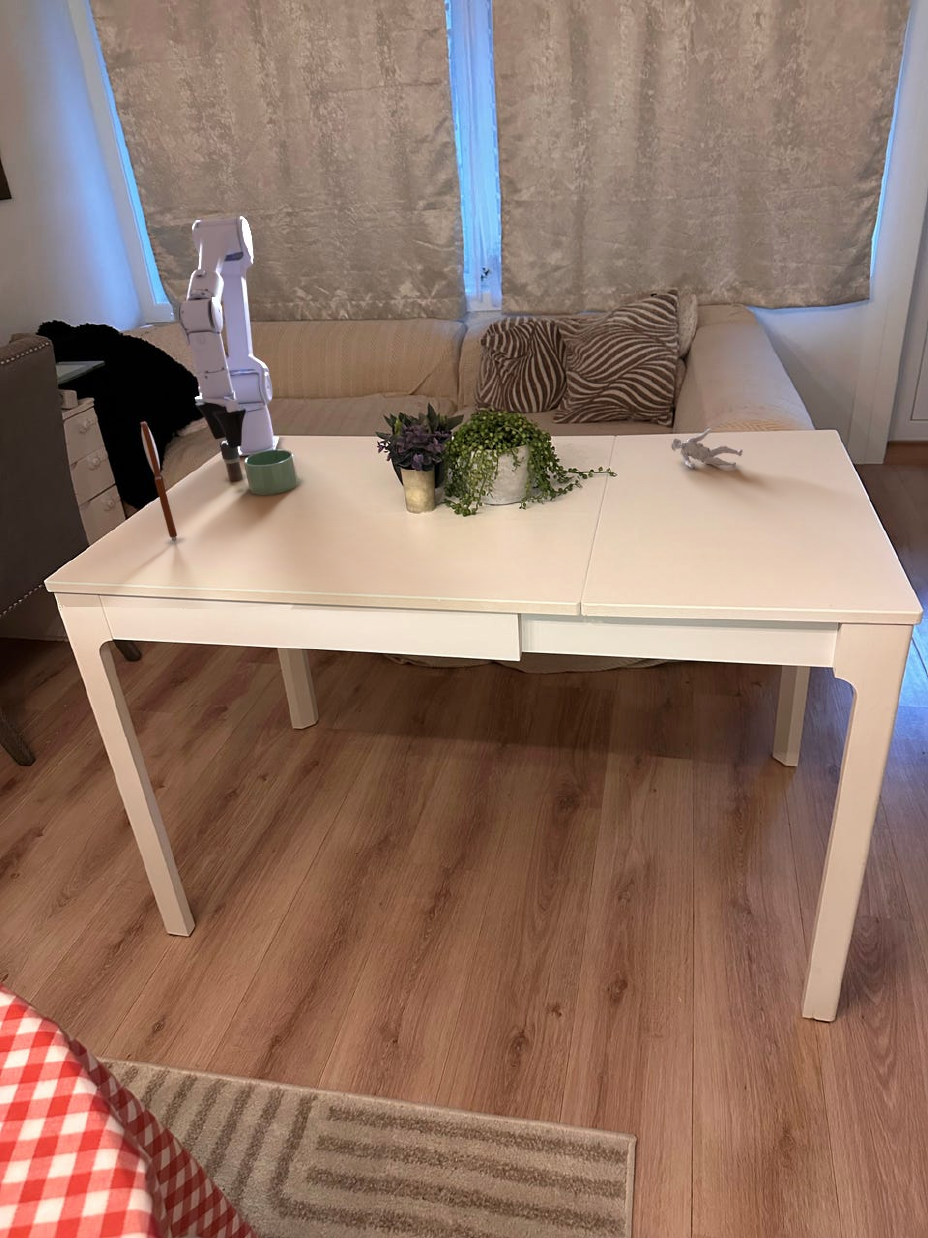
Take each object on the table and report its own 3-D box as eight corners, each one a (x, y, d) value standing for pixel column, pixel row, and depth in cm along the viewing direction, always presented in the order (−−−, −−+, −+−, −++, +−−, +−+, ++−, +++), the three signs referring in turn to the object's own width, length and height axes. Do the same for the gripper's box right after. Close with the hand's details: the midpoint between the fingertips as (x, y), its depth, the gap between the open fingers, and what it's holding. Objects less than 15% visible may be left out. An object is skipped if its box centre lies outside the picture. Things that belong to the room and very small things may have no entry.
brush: (228, 476, 176) (220, 440, 172) (245, 474, 176) (237, 439, 172) (226, 482, 173) (218, 446, 170) (243, 480, 173) (235, 444, 170)
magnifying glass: (183, 549, 147) (151, 428, 137) (172, 552, 146) (140, 430, 136) (177, 531, 154) (146, 414, 144) (166, 533, 153) (135, 416, 143)
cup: (253, 480, 173) (247, 452, 170) (299, 475, 173) (294, 447, 170) (247, 497, 165) (241, 468, 162) (295, 491, 165) (290, 462, 163)
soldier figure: (726, 480, 155) (661, 453, 158) (725, 490, 159) (662, 463, 163) (747, 440, 155) (682, 414, 159) (745, 451, 160) (682, 425, 163)
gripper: (177, 367, 168) (194, 439, 174) (204, 380, 157) (221, 456, 163) (213, 359, 171) (228, 430, 177) (243, 371, 160) (258, 446, 167)
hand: (227, 442), depth 171 cm, fingers open, 7 cm apart
